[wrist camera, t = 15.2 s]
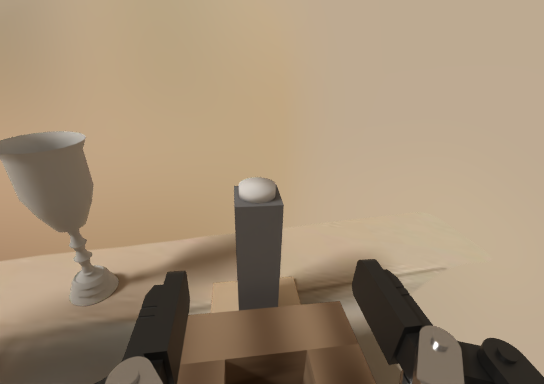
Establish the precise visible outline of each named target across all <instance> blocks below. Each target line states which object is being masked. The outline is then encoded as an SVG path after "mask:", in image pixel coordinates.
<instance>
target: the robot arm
mask: <svg viewBox="0 0 544 384" xmlns="http://www.w3.org/2000/svg"><path fill="white" fill-rule="evenodd" d="M352 291H353V294H354V297H355V299H356V301H357V303H358V305H359V307H360V309H361V311H362V313H363V315H364V317H365V319H366V321H367V323H368V324H369V326H370V328H371V330H372V332H373V334H374V336H375V338H376V340H377V342H378V344H379V346H380V348H381V350H382V352H383V354H384V356H385V358H386V360H387V362H388V364H389V365H391V364H400V366H401V368H402V371H401V375H400V384H544V377H543V376H542V375H541V374H540V373H539V371H537V369H536V368H535V367H534V366H533V365H532V364H531V363H530V362H529V361H528V360H527V358H526V357H525V356H524V355H523V354H522V353H521V352H520V351H519V350H517V349H516V348H515V347H513V346H512V345H510V344H509V343H507V342H505V341H502V340H500V339H496V338H488V339H486V340H484V342H483V343H482V345H481V346H478V345H473V344H469V343H464V342H459V341H457V340H456V339H455V338H454V337H453V336H452V335H451V334H450V333H448V332H447V331H445V330H443V329H441V328H439V327H436V326H433V325H432V324H431V322H430V321H429V319H428V318H427V317H426V315H425V314H424V313H423V311H422V310H421V309H420V307H419V306H418V305H417V303H416V302H415V301H414V299H413V298H412V297H411V296H410V295H409V293H408V291H407V290H406V289H405V288H404V286H403V285H402V283H401V282H400V281H399V279H398V278H397V277H396V276H395V275H394V274H392V273H391V272H390V271H388V270H387V269H386V270H383V269H382V267H381V266H380V264H379V263H378V262H377V260H375V259H368V260H359V261H358V262H357V266H356V270H355V274H354V278H353V282H352ZM189 305H190V296H189V288H188V281H187V274H186V271H174V272H167V274H166V278H165V281H164V285H154V286H153V287H152V289H151V290H150V291H149V292H148V293H147V294H146V296H145V299H144V301H143V304H142V309H141V310H140V313H139V316H138V319H137V321H136V324H135V327H134V330H133V333H132V335H131V338H130V341H129V344H128V347H127V350H126V352H125V355H124V358H123V360H122V361H121V363H120V364H118V365H117V366H116V367H115V368H114V369H113V370H112V371H111V373H110V374H109V376H107V377H106V378H104V379H103V380H101V381H99V382H97V383H95V384H177V381H178V375H179V369H180V362H181V356H182V350H183V344H184V338H185V332H186V326H187V319H188V313H189Z"/></svg>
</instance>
